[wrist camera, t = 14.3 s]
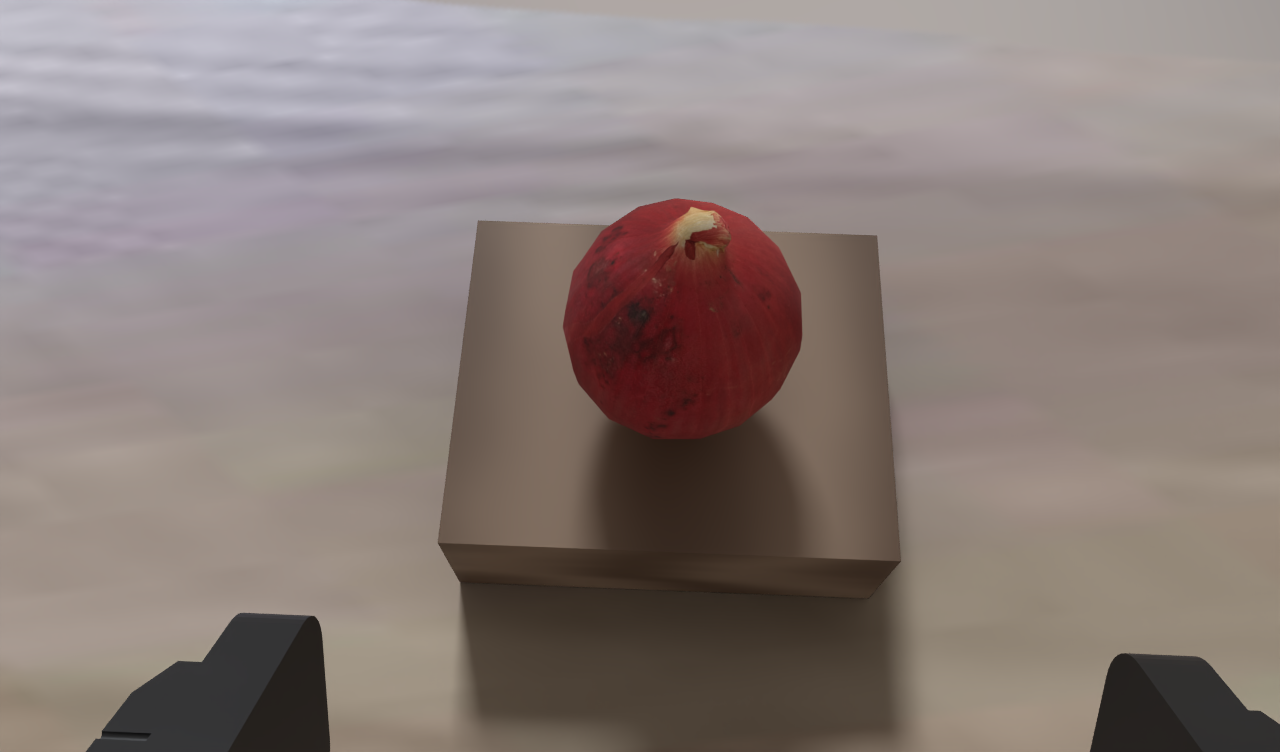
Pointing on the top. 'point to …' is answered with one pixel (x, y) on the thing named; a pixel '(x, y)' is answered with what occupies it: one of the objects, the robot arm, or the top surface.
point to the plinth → (669, 444)
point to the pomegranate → (682, 320)
